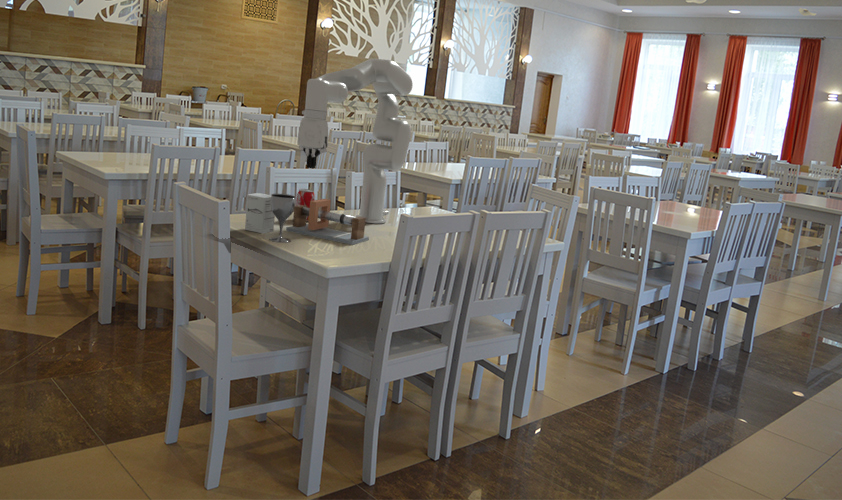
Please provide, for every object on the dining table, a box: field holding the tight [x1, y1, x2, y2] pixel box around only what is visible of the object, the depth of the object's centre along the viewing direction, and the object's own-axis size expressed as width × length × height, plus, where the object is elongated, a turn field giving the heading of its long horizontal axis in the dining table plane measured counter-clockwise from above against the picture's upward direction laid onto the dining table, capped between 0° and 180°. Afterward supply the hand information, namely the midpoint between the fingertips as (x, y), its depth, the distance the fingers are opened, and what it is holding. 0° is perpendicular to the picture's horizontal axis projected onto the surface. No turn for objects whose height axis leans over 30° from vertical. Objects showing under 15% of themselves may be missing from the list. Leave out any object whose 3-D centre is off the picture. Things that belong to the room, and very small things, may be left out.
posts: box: [292, 205, 366, 240], centre depth 239 cm, size 26×5×8 cm, turn 67°
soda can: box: [295, 188, 316, 223], centre depth 260 cm, size 7×7×12 cm
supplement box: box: [244, 192, 275, 235], centre depth 233 cm, size 7×7×13 cm
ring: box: [307, 198, 332, 230], centre depth 240 cm, size 2×10×10 cm, turn 157°
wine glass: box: [268, 193, 297, 244], centre depth 222 cm, size 8×8×15 cm
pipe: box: [301, 207, 356, 226], centre depth 238 cm, size 24×4×4 cm, turn 67°
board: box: [285, 223, 370, 246], centre depth 239 cm, size 27×12×1 cm, turn 67°
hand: (310, 167), depth 238 cm, fingers closed
